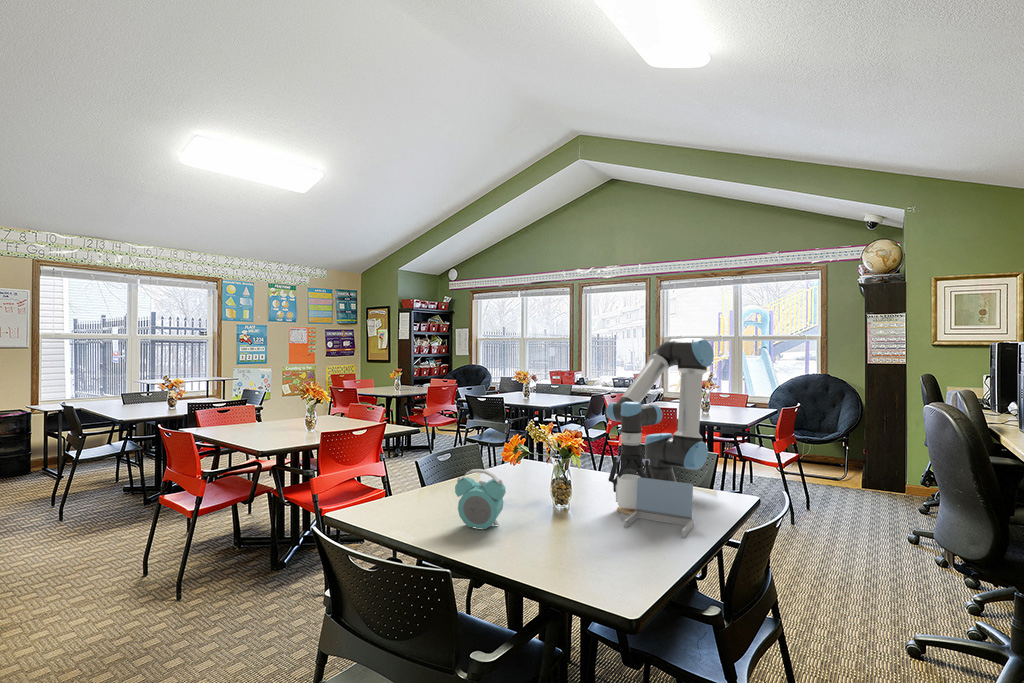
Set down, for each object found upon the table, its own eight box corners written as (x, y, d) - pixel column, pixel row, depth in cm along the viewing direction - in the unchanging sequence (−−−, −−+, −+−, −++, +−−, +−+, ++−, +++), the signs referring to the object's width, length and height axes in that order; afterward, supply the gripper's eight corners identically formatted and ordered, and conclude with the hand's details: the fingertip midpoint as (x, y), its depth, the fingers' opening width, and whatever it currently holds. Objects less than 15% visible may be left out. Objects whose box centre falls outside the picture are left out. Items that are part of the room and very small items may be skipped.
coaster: (622, 504, 212) (622, 503, 212) (650, 508, 206) (650, 507, 206) (612, 511, 202) (612, 510, 202) (641, 516, 197) (641, 515, 197)
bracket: (636, 516, 196) (636, 510, 196) (693, 526, 186) (693, 519, 186) (624, 527, 186) (624, 520, 186) (684, 537, 175) (683, 530, 175)
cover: (636, 511, 195) (637, 510, 196) (691, 519, 185) (692, 519, 186) (637, 477, 197) (639, 477, 198) (692, 484, 187) (693, 483, 188)
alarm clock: (509, 524, 189) (508, 466, 189) (501, 533, 180) (500, 473, 180) (462, 520, 193) (461, 464, 194) (452, 529, 184) (451, 470, 184)
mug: (653, 508, 200) (652, 479, 200) (620, 509, 200) (619, 479, 200) (646, 502, 208) (646, 474, 208) (615, 502, 208) (615, 474, 208)
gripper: (599, 442, 207) (599, 501, 207) (658, 448, 195) (658, 510, 195) (606, 439, 213) (607, 496, 213) (664, 444, 202) (664, 505, 201)
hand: (631, 503), depth 204 cm, fingers closed on mug, 10 cm apart
